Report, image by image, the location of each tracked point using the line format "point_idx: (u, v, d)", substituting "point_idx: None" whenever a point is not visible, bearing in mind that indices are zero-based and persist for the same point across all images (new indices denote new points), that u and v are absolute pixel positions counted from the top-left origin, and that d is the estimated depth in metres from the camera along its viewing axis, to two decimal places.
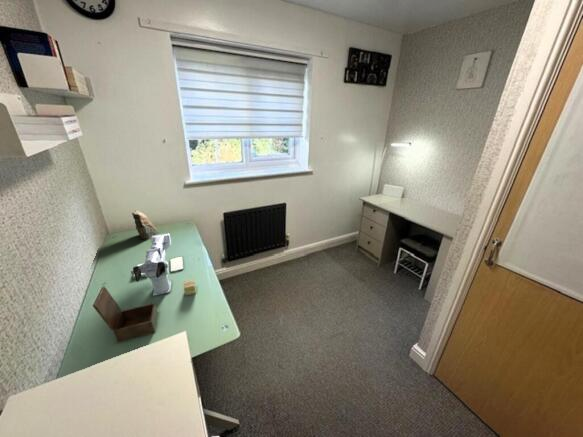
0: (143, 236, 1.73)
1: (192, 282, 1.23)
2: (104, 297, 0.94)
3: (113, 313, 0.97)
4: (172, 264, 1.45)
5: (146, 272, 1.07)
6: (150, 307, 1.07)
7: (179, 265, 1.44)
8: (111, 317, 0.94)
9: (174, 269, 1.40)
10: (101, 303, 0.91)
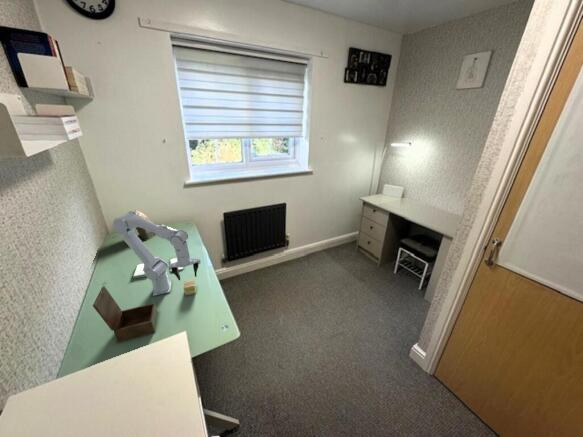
0: (143, 236, 1.73)
1: (192, 282, 1.23)
2: (104, 297, 0.94)
3: (113, 313, 0.97)
4: None
5: None
6: (150, 307, 1.07)
7: None
8: (111, 317, 0.94)
9: None
10: (101, 303, 0.91)
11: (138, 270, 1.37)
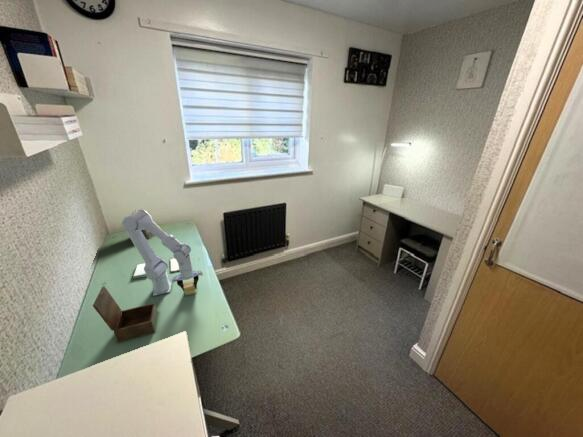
0: None
1: (192, 282, 1.23)
2: (104, 297, 0.94)
3: (113, 313, 0.97)
4: (172, 264, 1.45)
5: None
6: (150, 307, 1.07)
7: None
8: (111, 317, 0.94)
9: (174, 269, 1.40)
10: (101, 303, 0.91)
11: (138, 270, 1.37)
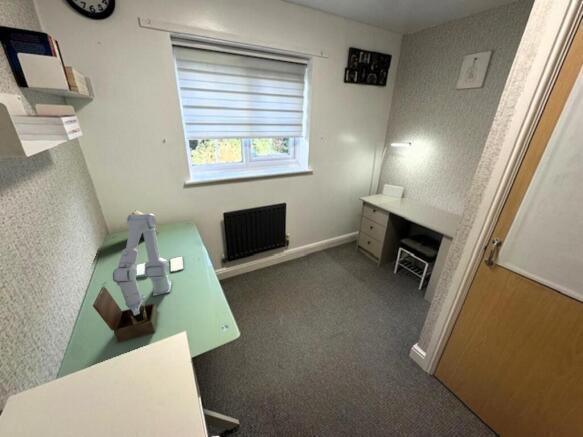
0: (143, 236, 1.73)
1: None
2: (104, 297, 0.94)
3: (113, 313, 0.97)
4: (172, 264, 1.45)
5: None
6: (150, 307, 1.07)
7: (179, 265, 1.44)
8: (111, 317, 0.94)
9: (174, 269, 1.40)
10: (101, 303, 0.91)
11: (138, 270, 1.37)
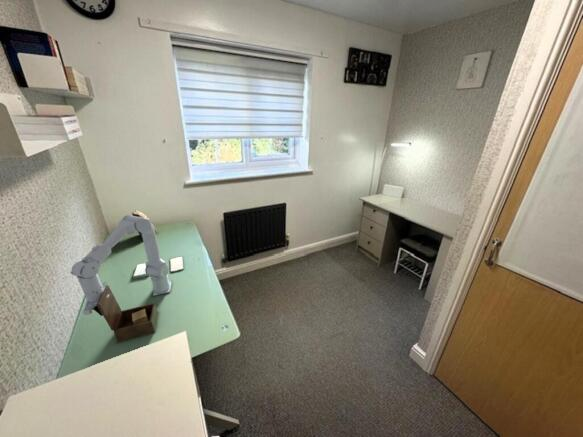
0: None
1: (140, 316, 1.01)
2: None
3: (114, 313, 0.97)
4: (172, 264, 1.45)
5: None
6: (150, 307, 1.07)
7: (179, 265, 1.44)
8: (112, 317, 0.94)
9: (174, 269, 1.40)
10: (104, 302, 0.91)
11: (138, 270, 1.37)
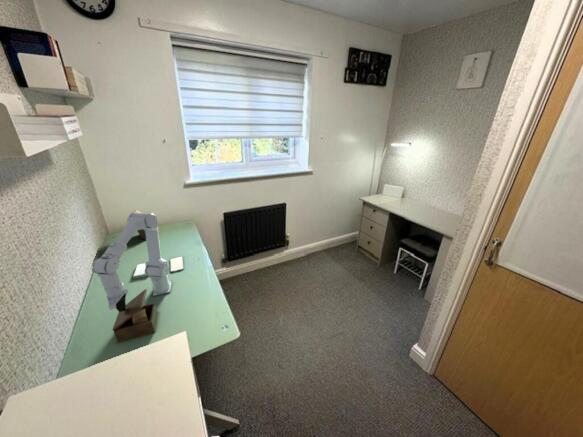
0: (143, 236, 1.73)
1: (140, 316, 1.01)
2: None
3: None
4: (172, 264, 1.45)
5: None
6: (150, 307, 1.07)
7: (179, 265, 1.44)
8: None
9: (174, 269, 1.40)
10: None
11: (138, 270, 1.37)
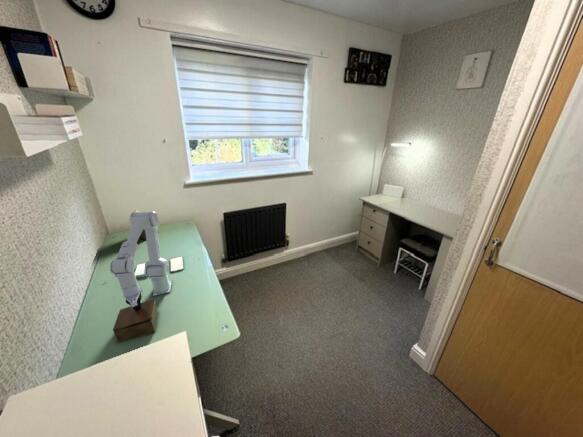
0: (143, 236, 1.73)
1: None
2: None
3: None
4: (172, 264, 1.45)
5: None
6: None
7: (179, 265, 1.44)
8: None
9: (174, 269, 1.40)
10: None
11: (138, 270, 1.37)
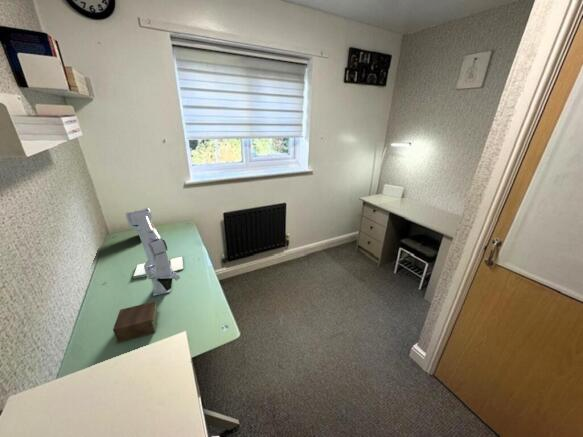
0: None
1: None
2: None
3: None
4: (172, 264, 1.45)
5: None
6: None
7: (179, 265, 1.44)
8: None
9: (174, 269, 1.40)
10: None
11: (138, 270, 1.37)
